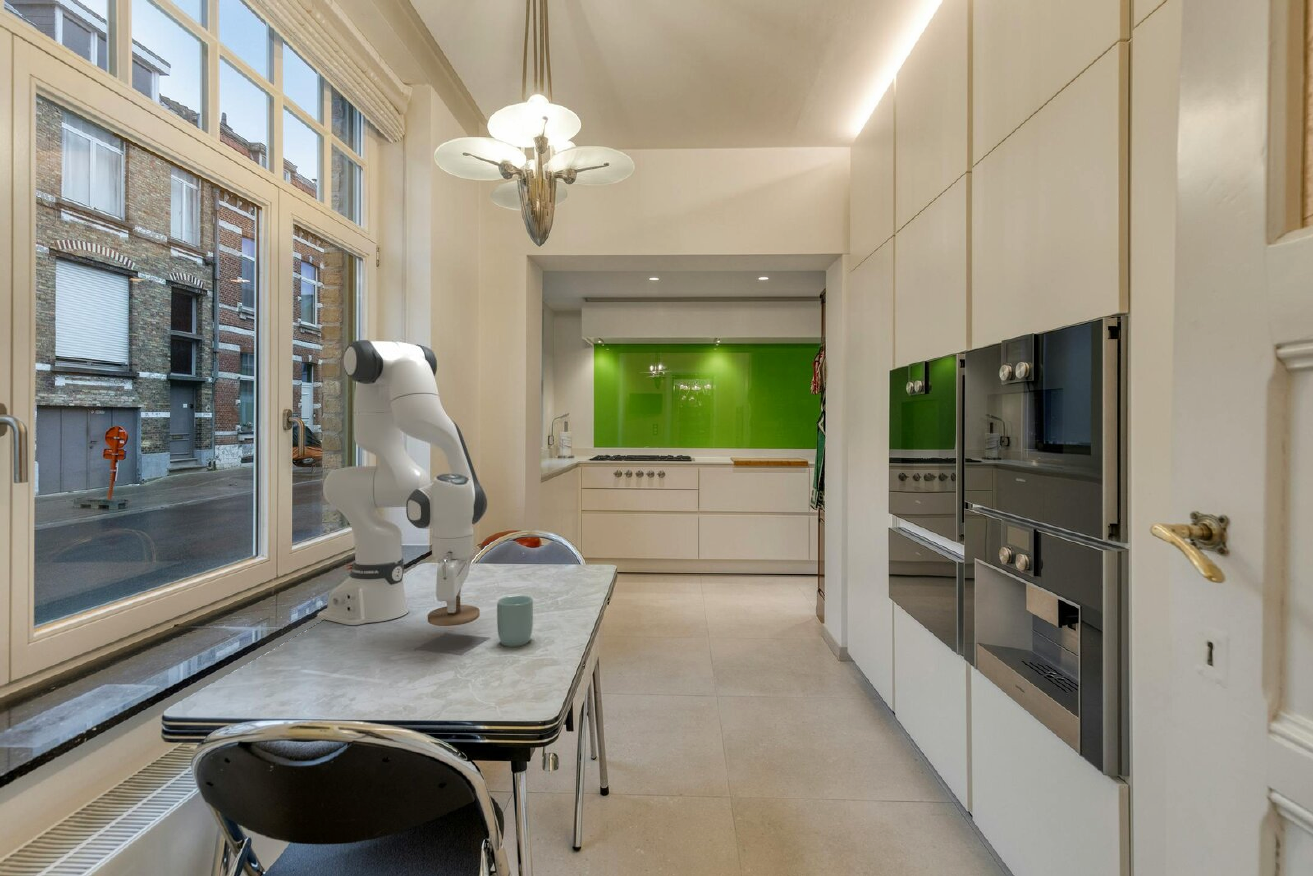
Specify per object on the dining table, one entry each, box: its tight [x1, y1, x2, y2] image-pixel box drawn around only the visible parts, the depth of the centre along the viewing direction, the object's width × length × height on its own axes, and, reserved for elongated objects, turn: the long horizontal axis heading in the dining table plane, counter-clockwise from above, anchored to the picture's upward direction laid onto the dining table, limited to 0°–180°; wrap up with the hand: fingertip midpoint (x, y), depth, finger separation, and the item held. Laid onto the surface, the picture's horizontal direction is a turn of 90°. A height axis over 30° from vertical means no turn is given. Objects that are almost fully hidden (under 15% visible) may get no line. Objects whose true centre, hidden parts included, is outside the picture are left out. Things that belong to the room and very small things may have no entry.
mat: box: [413, 632, 491, 656], centre depth 131 cm, size 12×11×1 cm
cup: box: [496, 595, 534, 648], centre depth 131 cm, size 8×8×10 cm
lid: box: [427, 595, 481, 627], centre depth 132 cm, size 11×11×4 cm
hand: (453, 608), depth 132 cm, fingers closed on lid, 3 cm apart
